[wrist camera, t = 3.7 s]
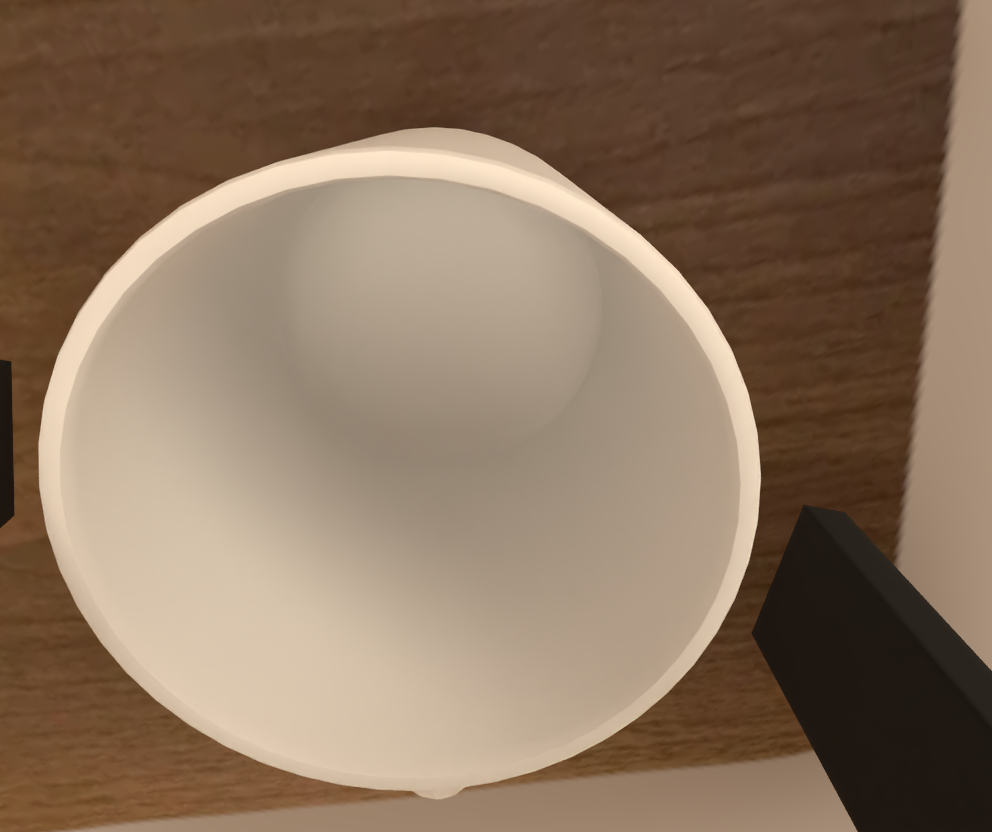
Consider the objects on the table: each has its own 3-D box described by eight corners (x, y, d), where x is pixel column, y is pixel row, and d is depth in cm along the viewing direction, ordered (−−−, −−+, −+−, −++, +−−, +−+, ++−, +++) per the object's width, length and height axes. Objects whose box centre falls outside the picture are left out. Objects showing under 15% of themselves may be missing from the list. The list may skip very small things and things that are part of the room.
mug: (598, 585, 21) (696, 969, 12) (300, 589, 21) (154, 983, 12) (625, 125, 17) (816, 147, 7) (248, 125, 17) (-55, 146, 7)
